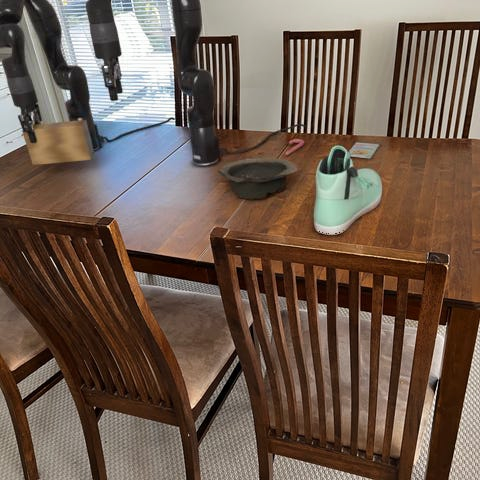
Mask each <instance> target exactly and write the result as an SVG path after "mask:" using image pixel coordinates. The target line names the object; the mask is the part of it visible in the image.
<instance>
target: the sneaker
mask: <svg viewBox="0 0 480 480" xmlns="http://www.w3.org/2000/svg"><path fill="white" fill-rule="evenodd" d="M348 152H349V151H348V150H347V148H345V147H344V146H342V145H334V146H333V147H331V149H330V151H329V154H327V155H326V156H325V157H324V158H322V159H321V160H320V161H319V163H318V164H317V165H318V166H317V168H316V172H315V201H314V207H313V225H314V229H315V231H316V232H318V233H320V234H323V235H326V236H327V235H328V236H336V235H339V234H342V233H344V232H345V231H347V230H348V229H349V228H350V227H351V226H352V225H353V224H354V222H356V221H357V220H358V219H359V218H360V217H362V216H363V215H365V214H367V213H370V212H372V210H374V209H375V208H377V207H378V205H380V203H381V200H382V196H383V184H382V183H383V182H382V179H381V176H380V175H379V173H378V172H377V171H376V170H374V169H372V168H367V167H365V168H358V169H357V168H355V167H354V161H353V159H352V158H351V156H349V153H348ZM343 230H344V231H343ZM319 231H320V232H319ZM322 232H323V233H322ZM339 232H340V233H339ZM326 233H327V234H326ZM328 233H329V234H328ZM335 233H337V234H335Z"/></svg>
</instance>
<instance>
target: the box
mask: <svg viewBox="0 0 480 480" xmlns="http://www.w3.org/2000/svg"><path fill="white" fill-rule="evenodd" d="M30 126H31V125H30ZM34 132H35V135H36V138H37V142H36V143H31V142H30V140H29V137H28V133H26V132H23V129H22V130H21V133H22V136H23V139H24V142H25V146H26V148H27V151H28V154H29V157H30V161H31V163H32V166H39V165H48V164H59V163H70V162H82V161H92V159H93V157H94V155H95V151H94V150H93V146H92V142H91V137H90V133H89V129H88V125H87V121H86V120H79V121H69V120H67V121H58V122H57V121H56V122H47V123H46V122H45V123H41V124H35V125H34Z"/></svg>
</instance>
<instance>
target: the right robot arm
mask: <svg viewBox="0 0 480 480" xmlns="http://www.w3.org/2000/svg"><path fill="white" fill-rule="evenodd" d="M170 1H171V2H170V3H171V13H172V20H173V28H174V35H175V45H176V55H177V56H176V57H177V81H178V87H179V89H180V91H181V92H182V93H183V94H184V95H186V96H189V97H192V105H191V106H189V107H188V108H187V109H186V116H187V124H188V131H189V132H188V133H189V139H190V148H191V155H192V164H193V165H194V166H196V167H211V166H214V165H216V164H217V163H218V162H220V161H221V155H223V154H224V152H225V153H226V154H228V155H234V154H241V153H246V152H248V151H252V150H254V149H256V148H258V147H260V146H261V145H263V144H264V143H266V142H267V141H268V139H270V138H271V137H273V136H274V135H276V134H278V133H281V132H285V131H287V130H290V129H294V128H295V127H303V128H307V126H306V124H303V123H297V124H294V125H291V126H289V127H285V128H282V129H278V130H276V131H274V132H272V133H270V134H268V135H267V136H266V138H264V139H263V140H262V141H261V142H259V143H257V144H256V145H254V146H252V147H249V148H245V149H242V150H238V151H228V149H227V148H225V147H222V146H220V142H219V141H220V140H219V135H217V133H216V125H215V124H216V123H215V115H214V110H215V106H216V98H215V97H216V96H215V82H214V79H213V78H214V77H213V76H212V73H211V72H210V71H208V70H207V69H203V68H198V64H197V46H198V43H199V40H200V37H201V33H202V31H203V14H202V13H203V12H202V4H201V0H170ZM85 10H86V16H87V20H88V24H89V33H90V38H91V43H92V48H93V52H94V56H95V58H96V59H97V60H102V61H103V64H102V65H101V66H100V69H101V73H102V77H103V78H102V79H103V83H104V87H105V88H106V89H107V90H108V96H109V100H110V101H111V102H117V101H118V100H119V94H123V92H124V90H123V85H122V76H123V73H122V70H121V65H120V59H119V58H120V57H121V56H122V54H123V52H122V48H121V43H120V37H119V32H118V28H117V25H116V21H115V15H114V11H113V10H114V9H113V5H112V0H86V2H85Z"/></svg>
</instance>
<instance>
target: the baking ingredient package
mask: <svg viewBox="0 0 480 480" xmlns="http://www.w3.org/2000/svg"><path fill="white" fill-rule="evenodd" d="M379 147H380V144H377V143H369V142H357V141H356V142H355V143H354V144H353V146H352V147H351V148H350V149H349V151H347V152H348V153H349V156H350V157H352V158H361V159H371V158H372V157H373V156H374V154H375V152H376V150H377V149H378V148H379Z"/></svg>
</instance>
